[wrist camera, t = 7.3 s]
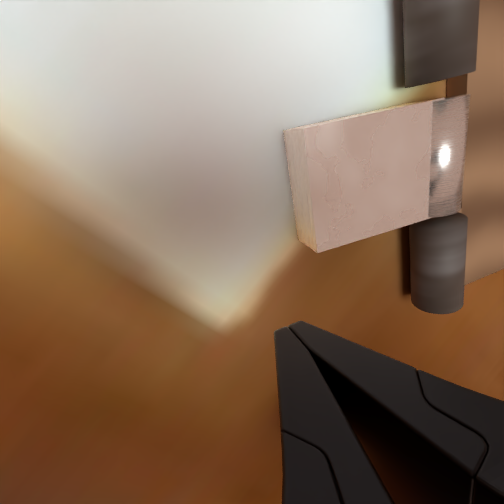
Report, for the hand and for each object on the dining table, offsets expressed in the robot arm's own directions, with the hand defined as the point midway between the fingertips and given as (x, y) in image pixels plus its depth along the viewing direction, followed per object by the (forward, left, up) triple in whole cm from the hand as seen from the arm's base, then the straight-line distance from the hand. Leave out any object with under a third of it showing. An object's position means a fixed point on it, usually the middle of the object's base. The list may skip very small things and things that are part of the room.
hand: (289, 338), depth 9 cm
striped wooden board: (+1, -20, -12) cm, 23 cm away
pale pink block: (+1, -11, -12) cm, 16 cm away
